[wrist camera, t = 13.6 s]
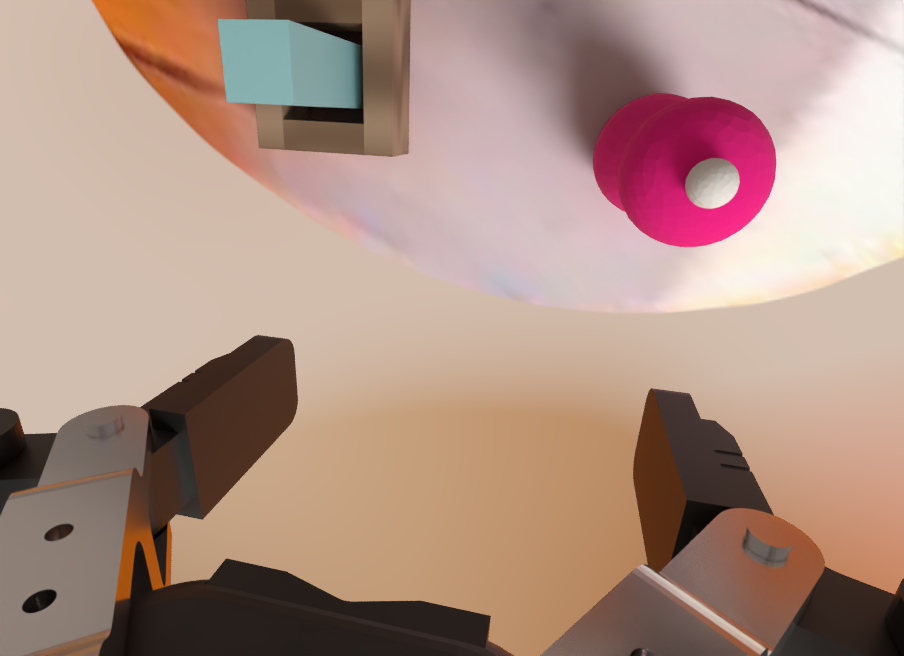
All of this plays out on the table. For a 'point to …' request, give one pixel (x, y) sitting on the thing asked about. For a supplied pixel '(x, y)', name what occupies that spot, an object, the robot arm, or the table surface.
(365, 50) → the socket block
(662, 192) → the pepper mill
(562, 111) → the table surface
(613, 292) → the table surface
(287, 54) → the peg
